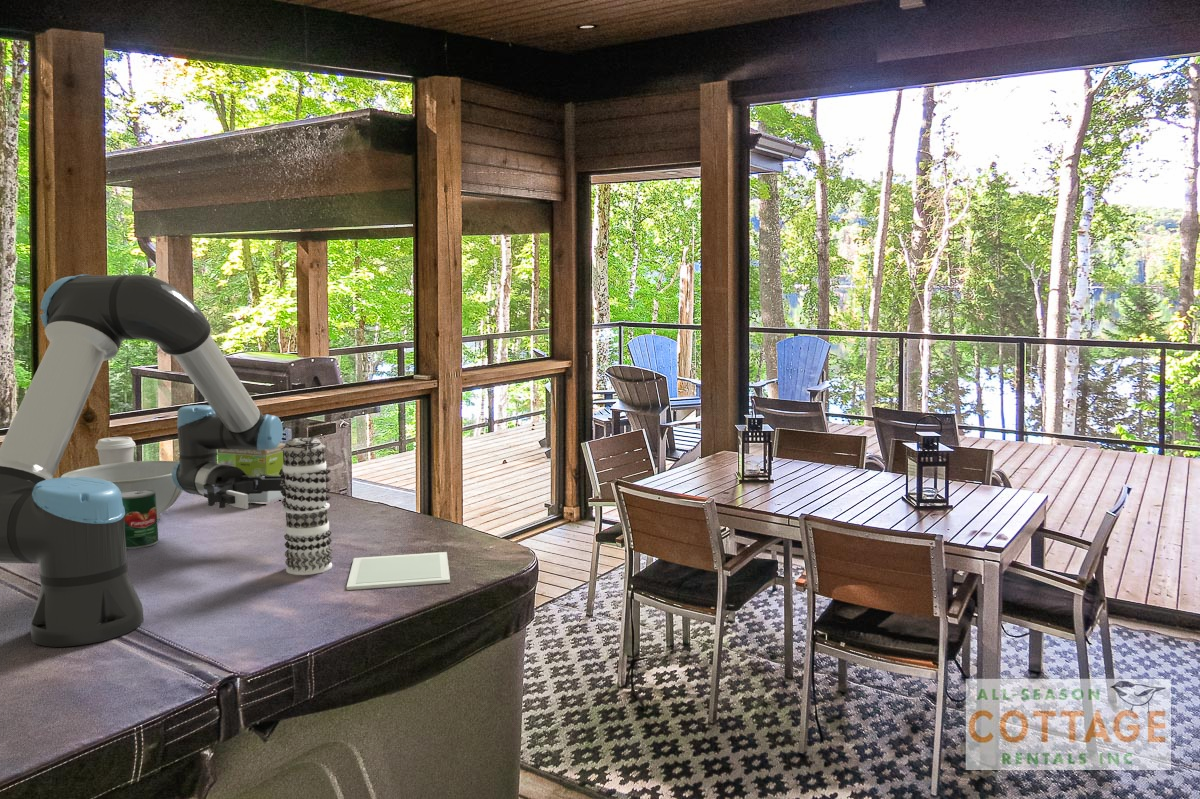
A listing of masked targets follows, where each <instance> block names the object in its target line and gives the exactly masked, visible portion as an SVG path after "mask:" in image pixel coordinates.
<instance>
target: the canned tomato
mask: <svg viewBox="0 0 1200 799" xmlns="http://www.w3.org/2000/svg"><path fill="white" fill-rule="evenodd" d="M155 493H156V491H155V490H151V489H138V490H129V491H123V492H121V495H122V502H123V506H124V509H125V515H124V523H125V539H126V550H134V548H136V549H142V548H147V547H151V546H154V545H156V544H159V529H158V525H159V524H158V520H157V509H156V508H157V507H156V494H155Z"/></svg>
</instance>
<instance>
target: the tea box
mask: <svg viewBox="0 0 1200 799" xmlns="http://www.w3.org/2000/svg"><path fill="white" fill-rule="evenodd" d="M285 445H286V443H284V442H283V443H281V442H280V444H279V445H278V447H276V448H275V449H268V450H260V451H258V450H234V449H231V450H228V449H217V463H220V464H225V465H229V466H234V467H238V468H240V469H242V470H243V471H244V472H245V474H246V475H249V476H260V475H262V474H265V475H271V476H280V475H279V472H280V470H281V469H283V450H281V448H282V447H284V446H285ZM284 474H285V473H284ZM255 490H258V485H257V487H256V489H255ZM283 497H285V496H282V493H281V491H263V492H262V493H260V494H249V495H248V502H270V501H273V500H276V499H280V498H283Z"/></svg>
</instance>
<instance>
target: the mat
mask: <svg viewBox="0 0 1200 799" xmlns="http://www.w3.org/2000/svg"><path fill="white" fill-rule="evenodd" d="M448 559H449V558H448V552H447V551H443V552H441V551H439V552H425V553H424V552H423V553H412V554H411V553H410V554H395V555H393V554H392V555H379V556H365V557H353V561H352V565H351V568H350V571H349V572H350V573H349V576H348V580H347V584H346V591H349V590H350V591H353V590H367V589H369V590H370V589H379V588H382V589H383V588H394V587H408V586H420V585H421V586H422V585H438V584H448V583H451V577H450V568H449V560H448Z"/></svg>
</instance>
